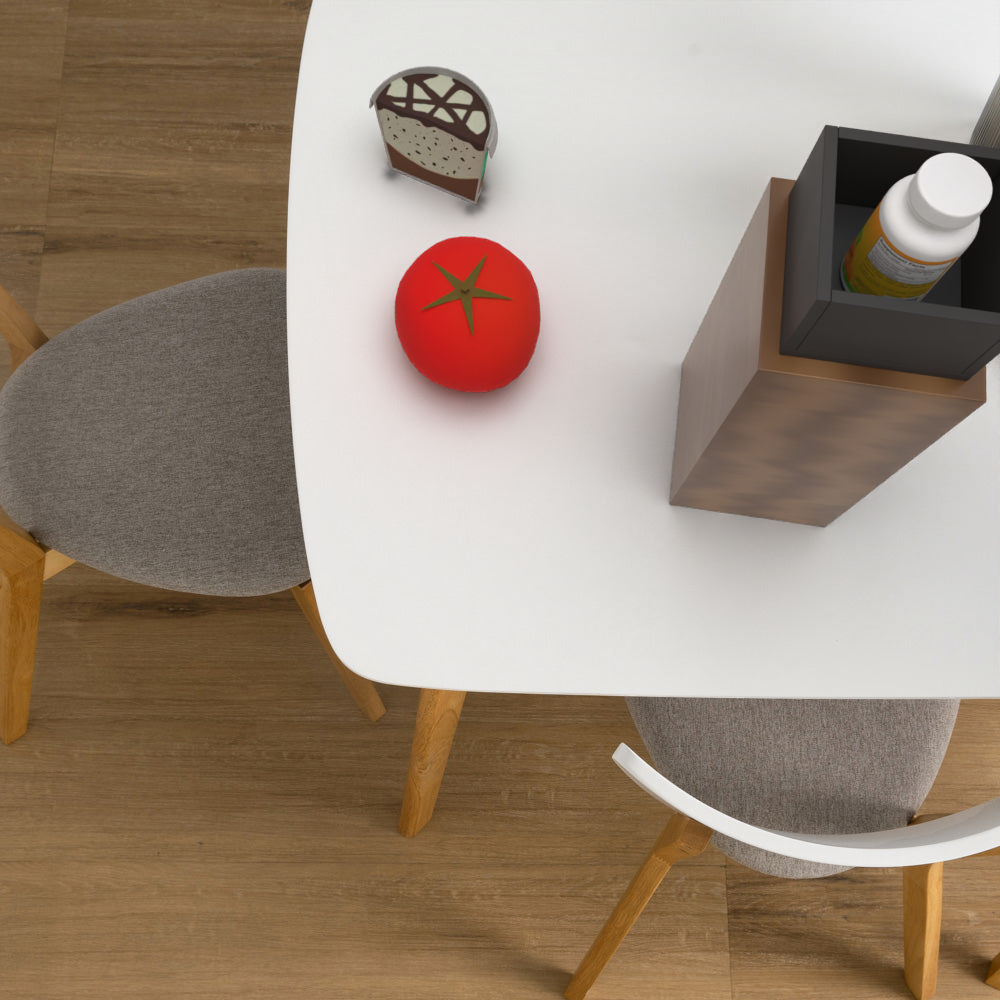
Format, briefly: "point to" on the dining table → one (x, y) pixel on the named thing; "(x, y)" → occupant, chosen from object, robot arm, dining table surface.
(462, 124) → the food container
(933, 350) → the dark grey open box
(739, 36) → the dining table surface
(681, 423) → the stand
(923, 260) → the supplement bottle
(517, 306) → the tomato
